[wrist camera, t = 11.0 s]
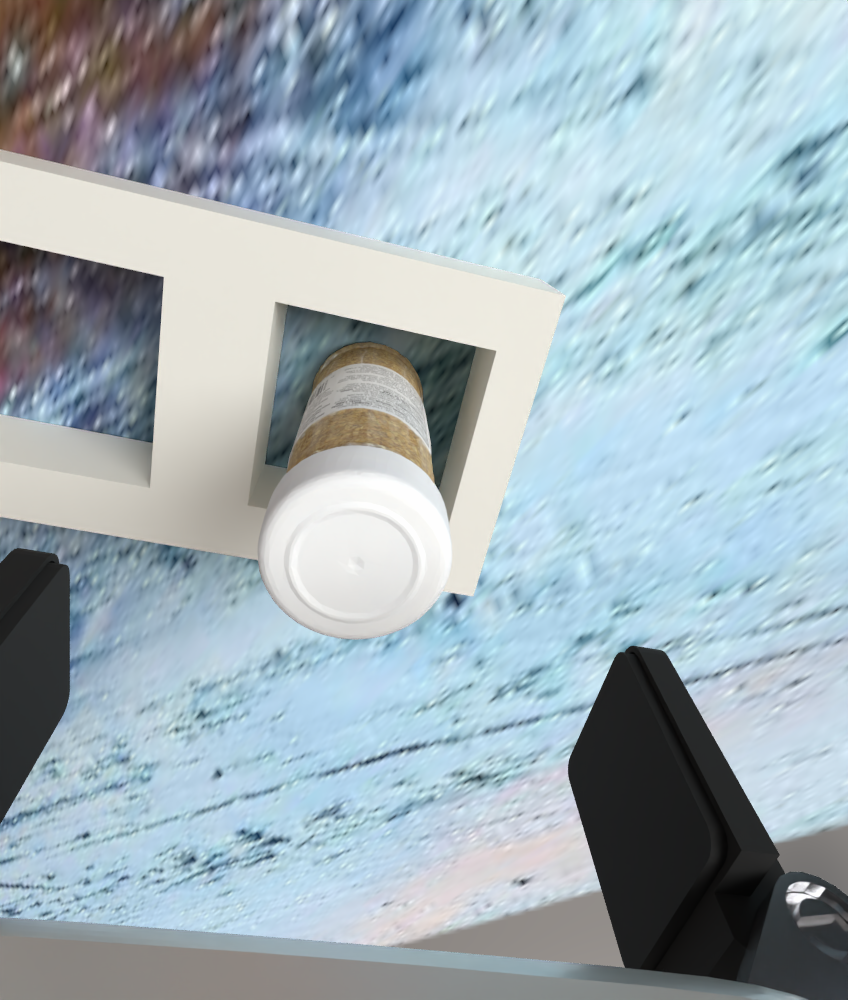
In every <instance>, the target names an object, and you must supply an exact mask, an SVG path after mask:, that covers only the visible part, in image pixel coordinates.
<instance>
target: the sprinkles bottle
mask: <svg viewBox="0 0 848 1000" xmlns="http://www.w3.org/2000/svg"><path fill="white" fill-rule="evenodd" d="M257 554H258V564H259V571H260V574H261V577H262V580H263V582H264V584H265V587H266V589H267V591H268V593H269V594H270V596H271V597H272V599H273V600H274V602H275V603H276V604H277V605H278V606H279V608H280V609H282V610H283V611H284V612H285V613H286V614H287V615H288V616H289V617H291V618H292V619H293V620H295V621H296V622H297V623H299V624H301V625H303V626H304V627H306V628H308V629H310V630H313V631H315V632H318V633H320V634H323V635H327V636H331V637H336V638H342V639H368V638H375V637H380V636H384V635H387V634H391V633H393V632H396V631H398V630H401V629H403V628H405V627H407V626H409V625H410V624H412V623H413V622H415V621H416V620H418V619H419V618H420V617H421V616H423V615H424V614H425V613H426V612H427V611H428V610H429V609H430V608H431V607H432V606H433V604H434V603H435V602H436V601H437V599H438V598H439V596H440V594H441V593H442V591H443V589H444V587H445V585H446V583H447V580H448V577H449V574H450V570H451V565H452V543H451V535H450V527H449V522H448V516H447V511H446V507H445V504H444V501H443V499H442V496H441V494H440V492H439V490H438V489H437V487H436V485H435V482H434V475H433V466H432V458H431V441H430V436H429V430H428V424H427V419H426V413H425V409H424V405H423V389H422V386H421V382H420V379H419V376H418V374H417V373H416V371H415V369H414V368H413V366H412V364H411V363H410V361H409V360H408V359H407V358H405V357H404V356H402V355H401V354H400V353H399V352H398V351H396V350H394V349H392V348H390V347H388V346H386V345H382V344H378V343H373V342H365V343H355V344H351V345H348V346H345V347H343V348H341V349H339V350H337V351H336V352H334V353H333V354H332V355H330V356H329V357H328V358H327V359H326V361H325V362H324V363H323V364H322V365H321V367H320V369H319V371H318V373H317V374H316V376H315V379H314V382H313V389H312V394H311V396H310V398H309V400H308V403H307V406H306V409H305V412H304V415H303V418H302V421H301V424H300V427H299V430H298V433H297V436H296V439H295V442H294V445H293V448H292V451H291V453H290V457H289V461H288V467H287V472H286V475H285V476H284V477H283V478H282V479H281V481H280V482H279V484H278V485H277V487H276V488H275V490H274V492H273V494H272V496H271V498H270V501H269V504H268V507H267V510H266V513H265V516H264V520H263V523H262V527H261V531H260V535H259V541H258V553H257Z"/></svg>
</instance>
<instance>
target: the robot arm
mask: <svg viewBox="0 0 848 1000" xmlns="http://www.w3.org/2000/svg"><path fill="white" fill-rule="evenodd" d="M69 692H70V573H69V568H68V566H67V565H63V564H59V560H58V557H57V555H55V554H52V553H46V552H40V551H33V550H27V549H21V548H17V549H14V550H13V551H11V552H10V553H9V554H8V555H7V557H6V558H5V559H4V560H3V561H2V562H1V563H0V824H1V822H2V820H3V818H4V817H5V815H6V813H7V812H8V810H9V808H10V806H11V805H12V803H13V801H14V799H15V798H16V796H17V794H18V792H19V791H20V789H21V787H22V785H23V784H24V782H25V780H26V778H27V777H28V775H29V773H30V772H31V770H32V768H33V766H34V765H35V763H36V761H37V759H38V758H39V756H40V754H41V752H42V751H43V749H44V747H45V745H46V744H47V742H48V740H49V738H50V737H51V735H52V733H53V732H54V730H55V728H56V726H57V725H58V723H59V721H60V719H61V718H62V716H63V714H64V712H65V709H66V706H67V703H68V699H69ZM568 776H569V781H570V784H571V787H572V791H573V794H574V797H575V801H576V804H577V808H578V811H579V814H580V818H581V821H582V825H583V828H584V831H585V835H586V838H587V842H588V845H589V848H590V852H591V855H592V859H593V862H594V865H595V869H596V872H597V876H598V879H599V882H600V886H601V889H602V893H603V896H604V899H605V903H606V906H607V910H608V913H609V916H610V920H611V923H612V927H613V930H614V933H615V937H616V940H617V944H618V947H619V950H620V954H621V957H622V961H623V963H624V966H625V968H622V967H612V966H601V965H590V964H589V965H588V964H579V963H567V962H556V961H544V960H533V959H523V958H512V957H500V956H489V955H478V954H466V953H455V952H444V951H432V950H420V949H407V948H396V947H384V946H372V945H361V944H348V943H336V942H324V941H312V940H300V939H288V938H276V937H264V936H251V935H238V934H225V933H213V932H200V931H187V930H174V929H161V928H148V927H135V926H122V925H110V924H97V923H84V922H69V921H53V920H36V919H20V918H3V917H0V1000H848V896H847V895H846V894H845V893H843V892H842V891H841V890H840V889H838V888H837V887H836V886H834V885H833V884H830V883H829V882H827V881H825V880H823V879H822V878H820V877H817V876H814V875H811V874H808V873H804V872H788V873H786V874H785V873H784V871H783V869H782V867H781V865H780V864H779V862H778V860H777V858H778V857H779V853H778V851H777V849H776V847H775V846H774V844H773V842H772V840H771V839H770V837H769V835H768V833H767V832H766V830H765V828H764V826H763V824H762V823H761V821H760V819H759V817H758V816H757V814H756V812H755V810H754V808H753V807H752V805H751V803H750V801H749V800H748V798H747V796H746V794H745V792H744V791H743V789H742V787H741V785H740V784H739V782H738V780H737V778H736V776H735V775H734V773H733V771H732V769H731V768H730V766H729V764H728V762H727V761H726V759H725V757H724V755H723V753H722V752H721V750H720V748H719V746H718V745H717V743H716V741H715V739H714V737H713V736H712V734H711V732H710V730H709V729H708V727H707V725H706V723H705V721H704V720H703V718H702V716H701V714H700V713H699V711H698V709H697V707H696V705H695V704H694V702H693V700H692V698H691V697H690V695H689V693H688V691H687V689H686V688H685V686H684V684H683V682H682V681H681V679H680V677H679V675H678V674H677V672H676V670H675V668H674V666H673V665H672V663H671V661H670V659H669V658H668V656H667V655H666V653H665V652H664V651H661V650H656V649H650V648H644V647H638V646H630V647H629V648H628V649H626V651H625V653H624V652H620V653H618V654H617V655H616V657H615V658H614V661H613V663H612V665H611V667H610V670H609V672H608V674H607V676H606V678H605V681H604V683H603V685H602V687H601V690H600V692H599V694H598V696H597V698H596V701H595V703H594V705H593V707H592V709H591V712H590V714H589V716H588V718H587V721H586V723H585V725H584V727H583V729H582V732H581V734H580V736H579V738H578V741H577V743H576V745H575V747H574V749H573V752H572V754H571V756H570V759H569V764H568Z"/></svg>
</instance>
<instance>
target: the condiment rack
mask: <svg viewBox="0 0 848 1000" xmlns="http://www.w3.org/2000/svg"><path fill="white" fill-rule="evenodd" d="M0 241H5V242H9V243H14V244H18V245H23V246H27V247H32V248H36V249H41V250H45V251H50V252H54V253H59V254H63V255H68V256H72V257H77V258H81V259H86V260H90V261H95V262H99V263H104V264H108V265H113V266H117V267H122V268H126V269H131V270H135V271H140V272H144V273H149V274H153V275H158V276H162V277H164V284H163V299H162V314H161V330H160V345H159V360H158V375H157V390H156V405H155V420H154V435H153V443H150V442H145V441H140V440H134V439H129V438H124V437H118V436H113V435H108V434H102V433H97V432H92V431H86V430H81V429H76V428H70V427H65V426H60V425H54V424H49V423H44V422H38V421H33V420H28V419H22V418H17V417H12V416H7V415H1V414H0V517H4V518H10V519H16V520H22V521H28V522H34V523H40V524H46V525H51V526H57V527H63V528H69V529H75V530H81V531H87V532H93V533H99V534H105V535H111V536H117V537H123V538H129V539H135V540H141V541H147V542H153V543H159V544H165V545H171V546H177V547H183V548H189V549H195V550H201V551H206V552H212V553H218V554H224V555H230V556H236V557H242V558H248V559H254V560H258V554H257V553H258V541H259V535H260V531H261V527H262V523H263V520H264V516H265V513H266V510H267V507H268V504H269V501H270V498H271V496H272V494H273V492H274V490H275V488H276V487H277V485H278V484H279V482H280V481H281V479H282V478H283V477H284V476H285V475H286V472H287V468H283V467H278V466H272V465H267V464H265V461H266V454H267V447H268V440H269V433H270V426H271V419H272V412H273V405H274V398H275V391H276V383H277V376H278V369H279V362H280V355H281V348H282V341H283V334H284V327H285V320H286V313H287V306H288V305H292V306H297V307H301V308H306V309H310V310H315V311H319V312H324V313H328V314H333V315H337V316H342V317H346V318H351V319H355V320H360V321H364V322H369V323H373V324H378V325H382V326H387V327H391V328H396V329H400V330H405V331H409V332H414V333H418V334H423V335H427V336H432V337H436V338H441V339H445V340H450V341H454V342H459V343H463V344H468V345H472V346H477V347H476V351H475V354H474V358H473V362H472V366H471V370H470V373H469V377H468V381H467V385H466V389H465V393H464V396H463V400H462V404H461V408H460V412H459V415H458V419H457V423H456V427H455V431H454V434H453V438H452V442H451V446H450V450H449V453H448V457H447V461H446V465H445V469H444V473H443V476H442V480H441V484H440V488H439V492H440V494H441V496H442V499H443V501H444V504H445V507H446V511H447V516H448V522H449V527H450V535H451V543H452V565H451V570H450V574H449V577H448V580H447V583H446V585H445V587H444V589H443V591H445V592H451V593H457V594H463V595H469V596H473V595H474V592H475V589H476V586H477V582H478V579H479V576H480V573H481V569H482V566H483V563H484V560H485V556H486V553H487V550H488V547H489V543H490V540H491V537H492V534H493V530H494V527H495V524H496V521H497V517H498V514H499V511H500V508H501V504H502V501H503V498H504V495H505V491H506V488H507V485H508V482H509V478H510V475H511V472H512V469H513V466H514V462H515V459H516V456H517V453H518V449H519V446H520V443H521V440H522V436H523V433H524V430H525V427H526V423H527V420H528V417H529V414H530V410H531V407H532V404H533V401H534V397H535V394H536V391H537V388H538V384H539V381H540V378H541V375H542V371H543V368H544V365H545V362H546V358H547V355H548V352H549V349H550V345H551V342H552V339H553V336H554V332H555V329H556V326H557V323H558V319H559V316H560V313H561V310H562V306H563V303H564V300H565V297H566V295H564V294H562V293H561V292H559V291H558V290H556V289H555V288H553V287H552V286H550V285H549V284H547V283H546V282H544V281H543V280H541V279H538V278H534V277H529V276H525V275H521V274H517V273H513V272H509V271H504V270H500V269H496V268H492V267H488V266H484V265H480V264H475V263H471V262H467V261H463V260H459V259H455V258H450V257H446V256H442V255H438V254H434V253H430V252H425V251H421V250H417V249H413V248H409V247H405V246H400V245H396V244H392V243H388V242H384V241H380V240H375V239H371V238H367V237H363V236H359V235H355V234H351V233H346V232H342V231H338V230H334V229H330V228H326V227H321V226H317V225H313V224H309V223H305V222H301V221H296V220H292V219H288V218H284V217H280V216H276V215H271V214H267V213H263V212H259V211H255V210H251V209H246V208H242V207H238V206H234V205H230V204H226V203H222V202H217V201H213V200H209V199H205V198H201V197H197V196H192V195H188V194H184V193H180V192H176V191H172V190H167V189H163V188H159V187H155V186H151V185H147V184H142V183H138V182H134V181H130V180H126V179H122V178H117V177H113V176H109V175H105V174H101V173H97V172H93V171H88V170H84V169H80V168H76V167H72V166H68V165H63V164H59V163H55V162H51V161H47V160H43V159H38V158H34V157H30V156H26V155H22V154H18V153H13V152H9V151H5V150H1V149H0Z"/></svg>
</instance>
